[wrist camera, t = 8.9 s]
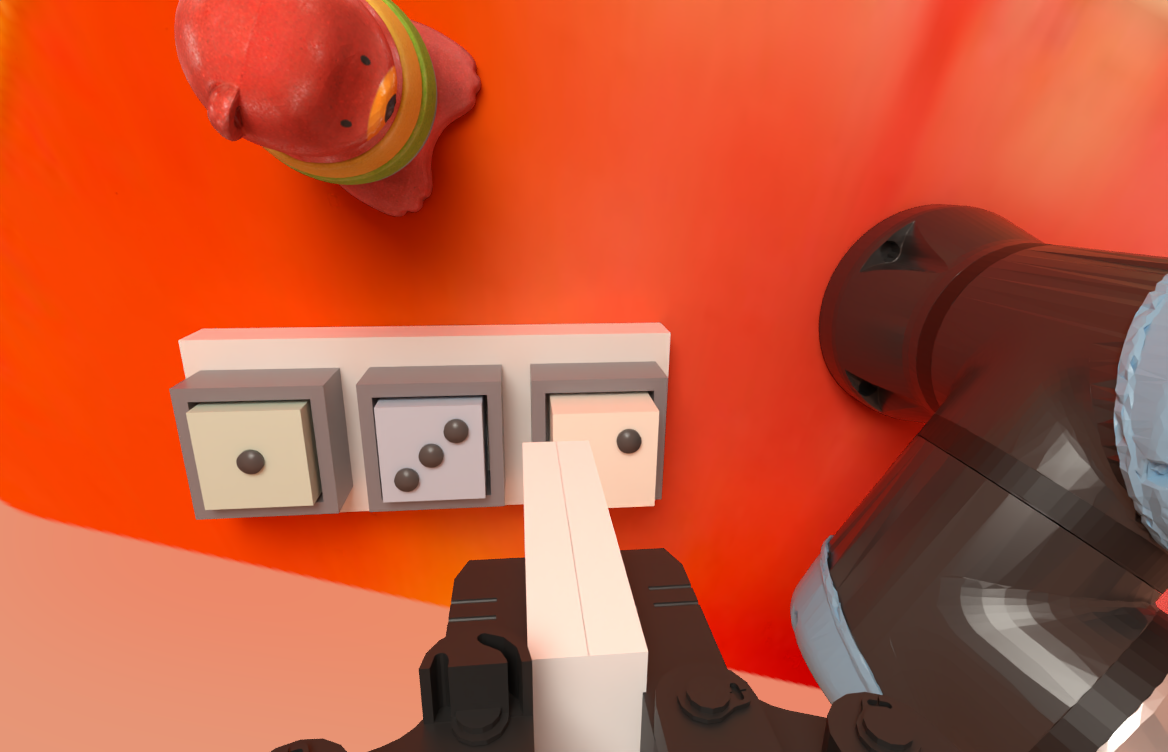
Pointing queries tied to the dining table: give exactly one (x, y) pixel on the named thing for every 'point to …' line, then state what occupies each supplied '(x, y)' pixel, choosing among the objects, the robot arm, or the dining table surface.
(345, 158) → the stacking bear
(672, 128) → the dining table surface
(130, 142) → the dining table surface
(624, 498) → the button two dot
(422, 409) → the button three dot
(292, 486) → the button one dot
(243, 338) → the button panel
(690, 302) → the dining table surface
